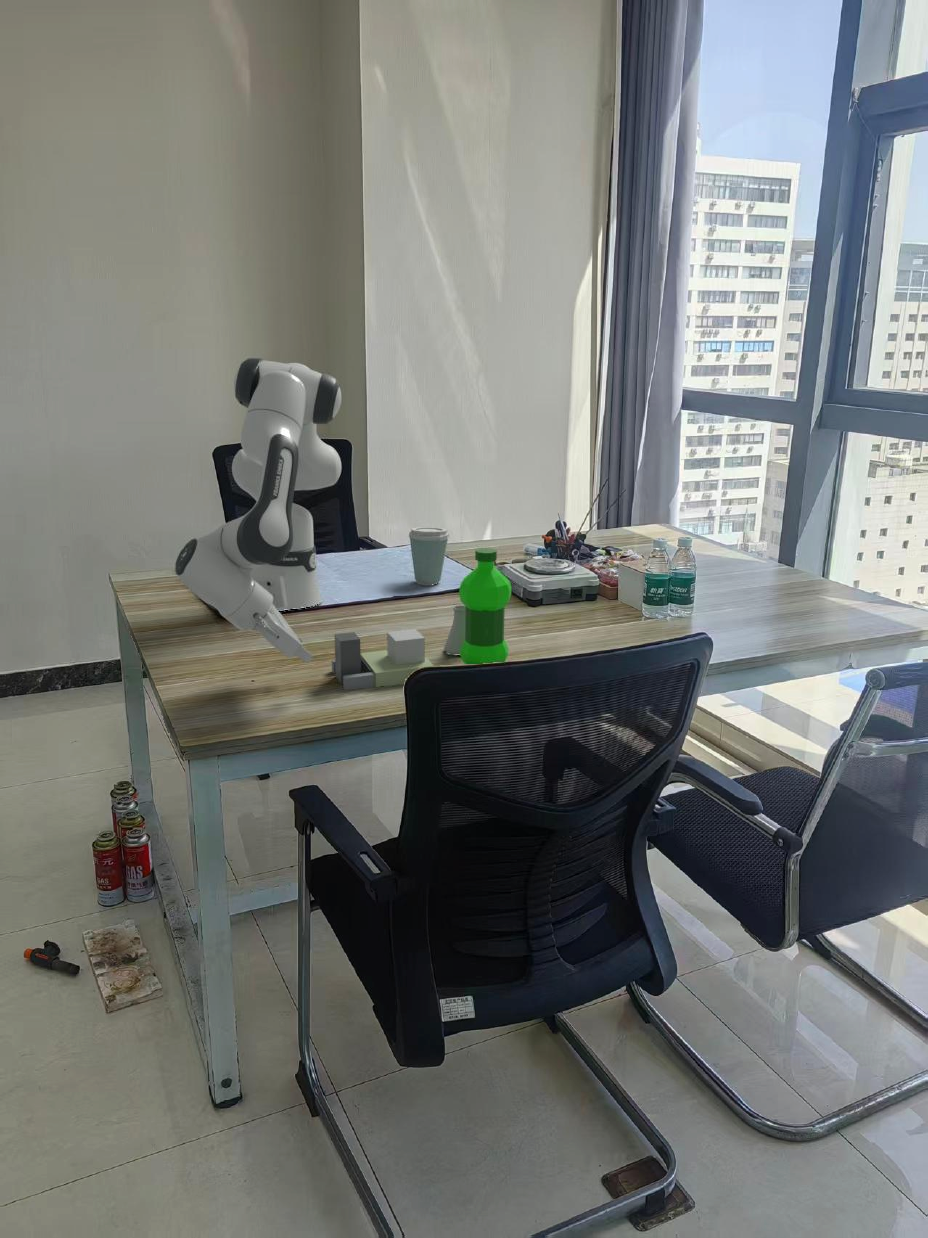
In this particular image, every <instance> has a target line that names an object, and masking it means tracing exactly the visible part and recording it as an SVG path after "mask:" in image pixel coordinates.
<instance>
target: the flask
mask: <svg viewBox="0 0 928 1238" xmlns="http://www.w3.org/2000/svg"><path fill="white" fill-rule="evenodd" d="M452 610H453V620H452V625H451V628H450V630H449V634H448V636H447V639H446V641H445V643H444V644H445V645H444V647H443V650H444V651H446V652H447V653H449V654H460V650H461V648H462V645H463V643H464V641H465V617H466V606H465V605H464V604H456V605H455V604H454V605H453V606H452ZM446 652H445V653H446ZM447 653H446V654H447Z"/></svg>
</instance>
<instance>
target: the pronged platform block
mask: <svg viewBox="0 0 928 1238" xmlns="http://www.w3.org/2000/svg"><path fill="white" fill-rule="evenodd" d="M425 639H426V638H425V637H424V636H423V635H422V634H421V632H419V631H418V629H416V628H411V629H401V630H392V631H387V632H386V641H387V644H386V646H387V647H386V648H387V650H386V649H385V650H376V651H367V652H360V653H361V674H353V675H344V676H343V685H342V686H343V689H344V691H351V690H352V689H353V690H358V688H361V689H367V688H381V687H380V686H384V687H391V686H398V684H400V685H404V684H403V683H404V682H405V679H406V678H408V676H409V675H411V673H412V672H413V671H415V670H417V669H419V668H421V667H427V666H434V667H435V665H434V664H433V663H432V662H431V660H429V659H428V658H427V657H426V655H425V654H426V653H425V652H426V647H425V644H426V643H425V642H426V640H425ZM331 672H332V673H333V675H336V665H335V658H334V659H331ZM374 686H376V687H374Z"/></svg>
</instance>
